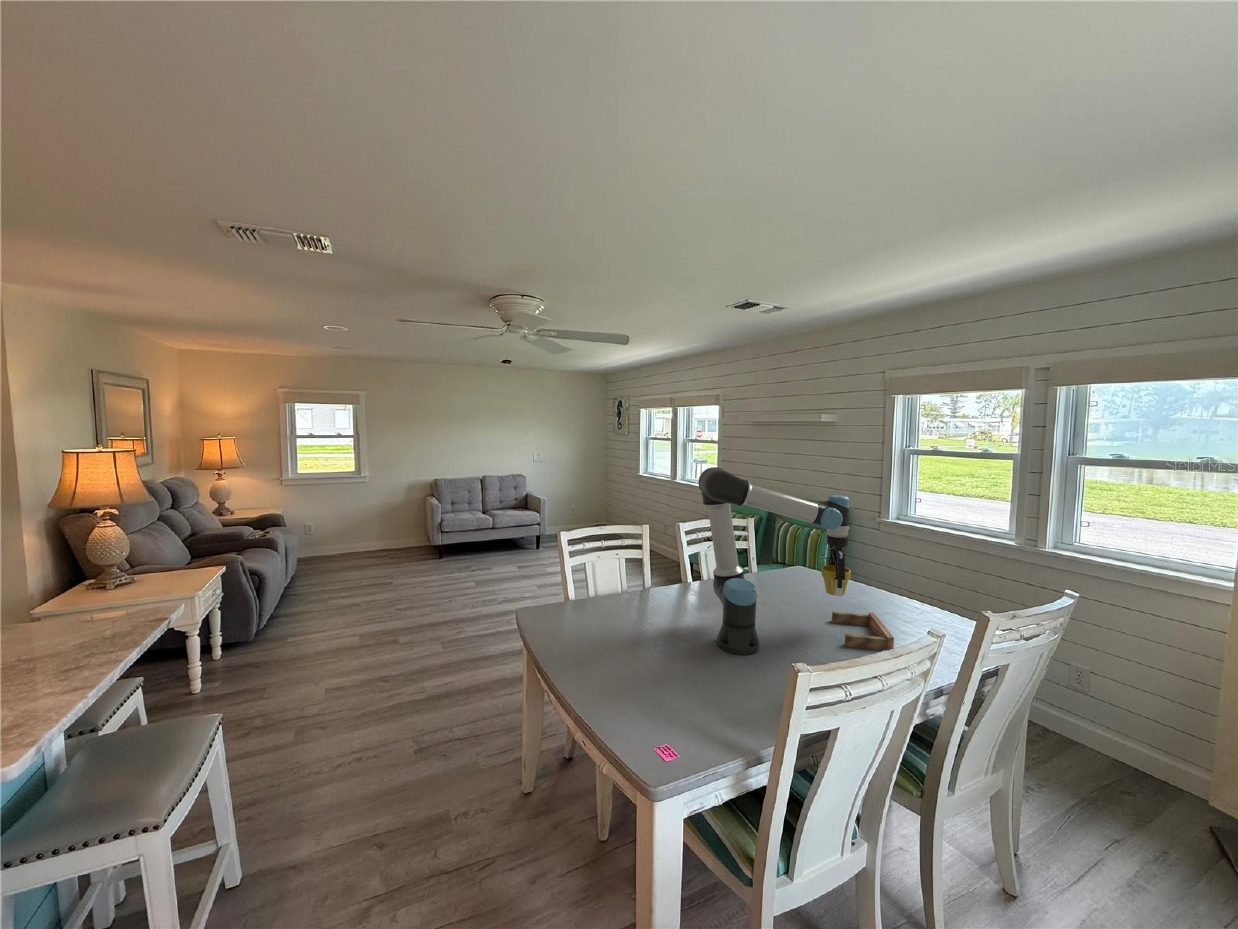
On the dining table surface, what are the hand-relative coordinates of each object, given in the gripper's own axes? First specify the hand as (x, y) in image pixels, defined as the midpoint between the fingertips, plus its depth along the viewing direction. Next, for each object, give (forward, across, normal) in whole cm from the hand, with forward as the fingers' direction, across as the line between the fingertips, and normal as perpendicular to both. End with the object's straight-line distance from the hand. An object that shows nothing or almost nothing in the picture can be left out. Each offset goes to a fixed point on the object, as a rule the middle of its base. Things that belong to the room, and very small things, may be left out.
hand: (835, 591), depth 193 cm
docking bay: (+17, -1, -8) cm, 19 cm away
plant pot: (+1, 0, 0) cm, 1 cm away
